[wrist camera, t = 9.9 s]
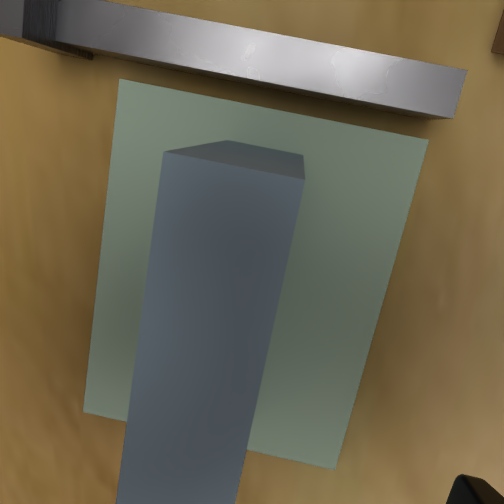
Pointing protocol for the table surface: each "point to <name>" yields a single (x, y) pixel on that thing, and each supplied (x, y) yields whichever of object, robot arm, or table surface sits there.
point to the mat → (298, 266)
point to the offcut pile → (499, 38)
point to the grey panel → (207, 319)
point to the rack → (235, 54)
